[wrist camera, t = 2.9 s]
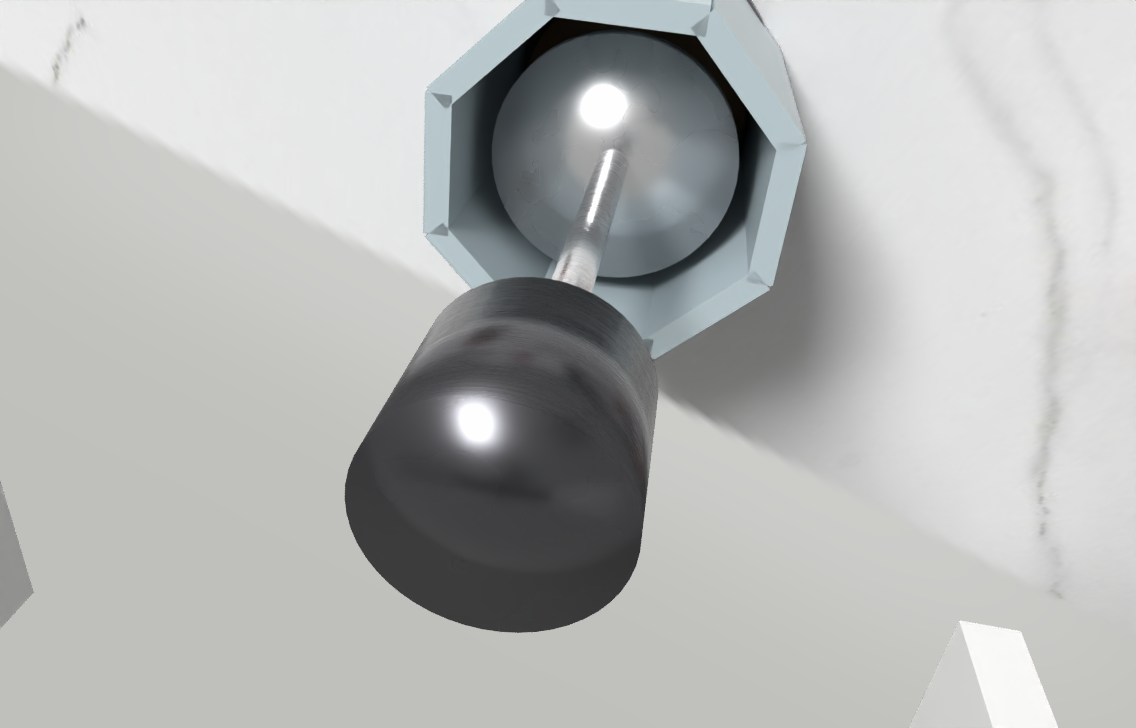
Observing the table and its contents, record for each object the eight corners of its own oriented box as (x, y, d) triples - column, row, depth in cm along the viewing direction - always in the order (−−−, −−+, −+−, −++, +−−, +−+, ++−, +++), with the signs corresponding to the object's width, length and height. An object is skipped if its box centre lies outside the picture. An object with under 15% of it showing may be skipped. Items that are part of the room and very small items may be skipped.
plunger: (504, 13, 27) (209, 244, 12) (762, 47, 27) (819, 340, 11) (490, 249, 31) (261, 653, 16) (713, 283, 31) (704, 740, 15)
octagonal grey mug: (518, -75, 35) (423, -36, 24) (803, -40, 34) (842, 18, 23) (498, 257, 42) (418, 404, 31) (730, 293, 41) (733, 457, 30)
